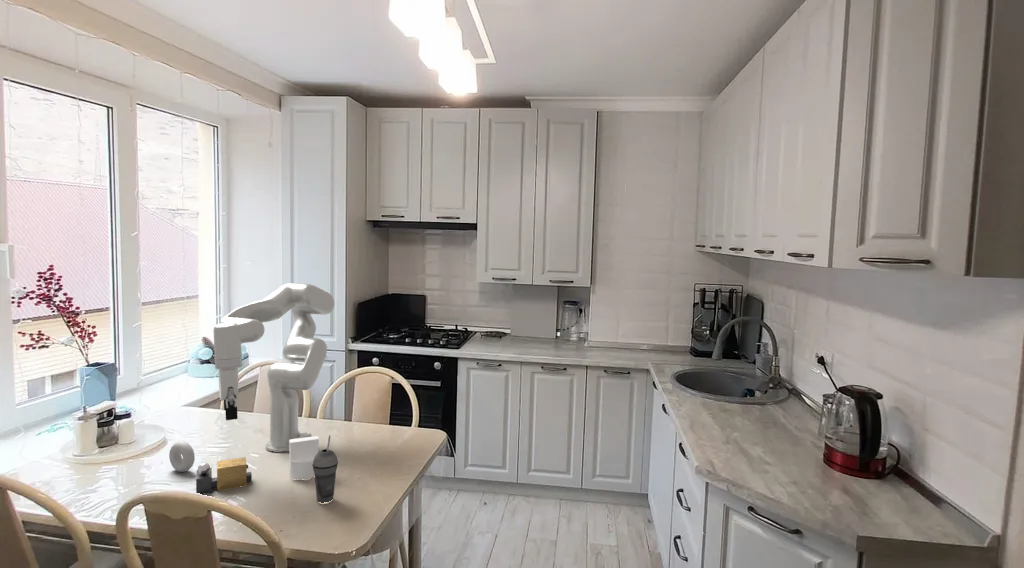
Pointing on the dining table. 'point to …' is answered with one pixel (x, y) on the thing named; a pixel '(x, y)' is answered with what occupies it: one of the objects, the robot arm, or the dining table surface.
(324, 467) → the beverage cup
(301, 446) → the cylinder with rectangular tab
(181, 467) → the donut
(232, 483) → the block
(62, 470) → the dining table surface
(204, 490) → the rail
